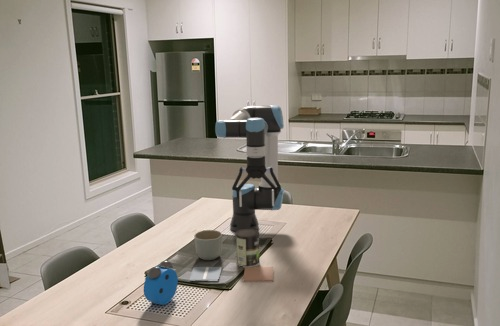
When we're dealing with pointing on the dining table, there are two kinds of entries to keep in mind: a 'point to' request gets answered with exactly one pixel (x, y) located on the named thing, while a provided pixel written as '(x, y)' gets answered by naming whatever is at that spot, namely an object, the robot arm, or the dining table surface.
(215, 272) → the pad
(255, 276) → the pad
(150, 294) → the alarm clock
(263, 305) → the dining table surface
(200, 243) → the planter
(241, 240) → the coffee can
